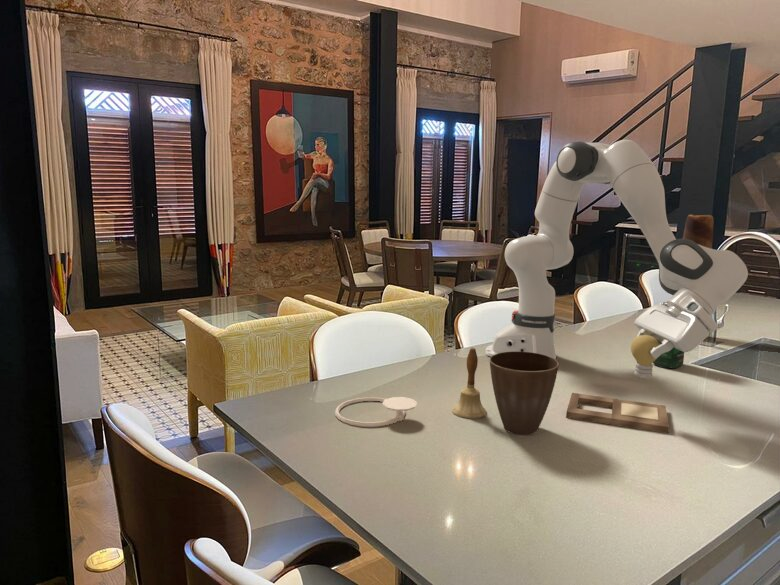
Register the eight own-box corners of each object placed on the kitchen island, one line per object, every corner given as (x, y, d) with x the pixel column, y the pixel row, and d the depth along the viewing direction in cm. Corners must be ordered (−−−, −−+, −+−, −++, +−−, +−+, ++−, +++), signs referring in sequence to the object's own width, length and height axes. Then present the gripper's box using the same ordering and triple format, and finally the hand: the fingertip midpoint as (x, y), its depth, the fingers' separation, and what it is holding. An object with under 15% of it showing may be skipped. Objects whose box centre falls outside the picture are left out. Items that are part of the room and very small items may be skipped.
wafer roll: (670, 337, 214) (683, 214, 206) (673, 331, 223) (686, 213, 215) (702, 341, 208) (716, 215, 200) (704, 335, 217) (718, 214, 209)
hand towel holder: (359, 381, 149) (431, 395, 139) (359, 397, 150) (431, 412, 140) (320, 401, 134) (398, 418, 124) (320, 419, 135) (398, 437, 125)
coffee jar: (674, 371, 174) (681, 310, 170) (648, 364, 179) (654, 306, 176) (687, 364, 180) (693, 306, 177) (661, 359, 186) (667, 302, 182)
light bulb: (623, 372, 139) (627, 332, 137) (648, 372, 139) (652, 332, 137) (636, 381, 132) (640, 339, 130) (663, 381, 133) (667, 339, 131)
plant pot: (515, 448, 120) (519, 375, 118) (473, 422, 133) (476, 355, 131) (568, 435, 127) (573, 365, 124) (523, 411, 140) (527, 348, 137)
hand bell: (489, 408, 142) (492, 345, 139) (483, 420, 135) (486, 354, 132) (456, 403, 145) (458, 342, 142) (448, 415, 137) (450, 351, 134)
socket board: (566, 417, 137) (566, 410, 137) (571, 398, 150) (572, 391, 149) (668, 433, 129) (669, 426, 129) (664, 411, 142) (665, 404, 141)
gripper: (654, 292, 143) (613, 331, 144) (705, 309, 123) (657, 354, 124) (670, 309, 144) (629, 348, 145) (723, 329, 124) (675, 373, 125)
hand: (642, 351), depth 134 cm, fingers closed on light bulb, 6 cm apart
